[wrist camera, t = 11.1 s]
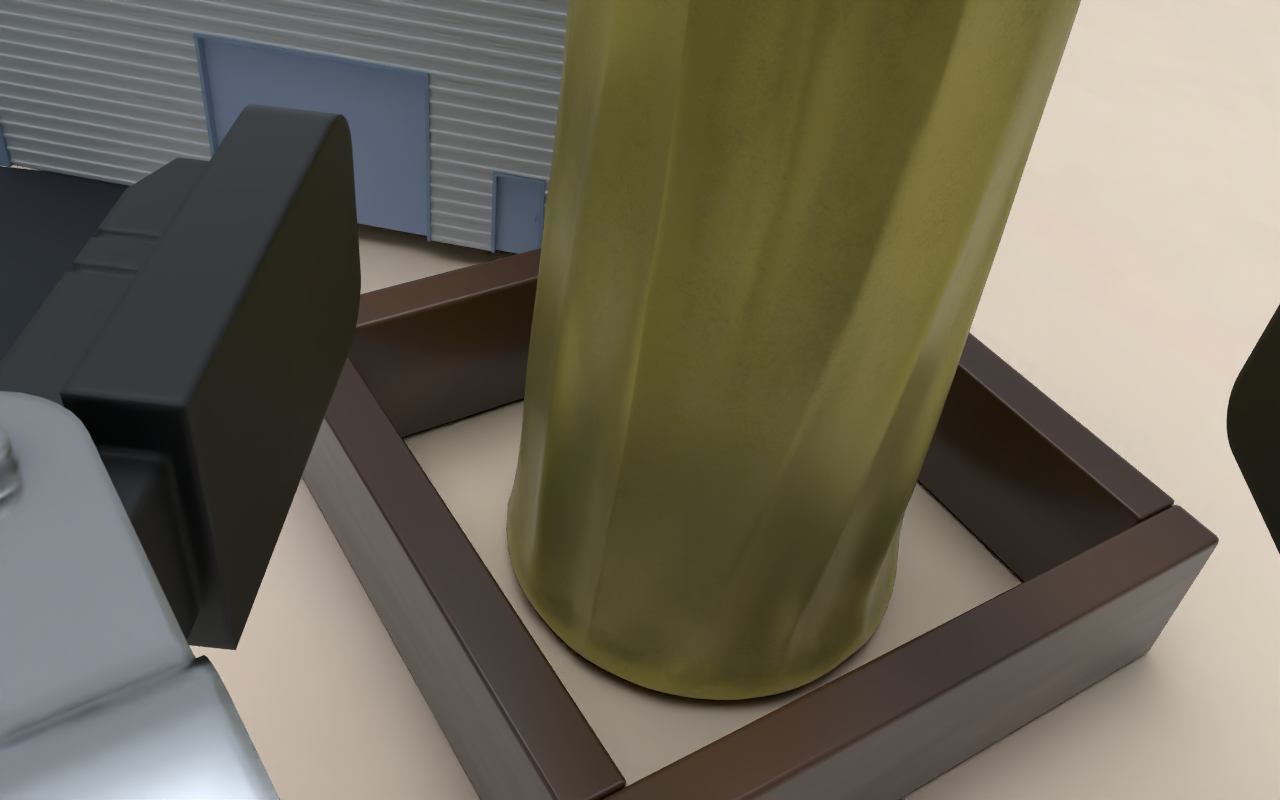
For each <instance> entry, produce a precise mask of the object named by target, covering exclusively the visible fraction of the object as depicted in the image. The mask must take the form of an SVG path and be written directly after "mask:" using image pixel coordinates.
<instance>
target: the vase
mask: <svg viewBox="0 0 1280 800" xmlns="http://www.w3.org/2000/svg"><path fill="white" fill-rule="evenodd" d="M1080 2H1081V0H568V8H567V21H566V33H565V45H564V57H563V68H562V78H561V87H560V95H559V104H558V113H557V121H556V130H555V139H554V148H553V156H552V164H551V172H550V179H549V186H548V193H547V201H546V209H545V218H544V229H543V240H542V248H541V256H540V265H539V273H538V281H537V290H536V297H535V305H534V312H533V320H532V328H531V336H530V344H529V353H528V362H527V372H526V383H525V397H524V413H523V424H522V434H521V443H520V451H519V458H518V464H517V470H516V476H515V480H514V485H513V489H512V492H511V496H510V499H509V502H508V513H507V528H506V530H507V539H508V547H509V553H510V557H511V561H512V565H513V569H514V573H515V575H516V577H517V579H518V581H519V583H520V586H521V588H522V590H523V592H524V593H525V595H526V597H527V598H528V599H529V601H530V602H531V604H532V605H533V607H534V608H535V610H536V611H537V612H538V614H539V615H540V616H541V617H542V618H543V619H544V621H545V622H546V623H547V624H548V625H549V626H550V628H551V629H552V630H553V631H554V632H555V633H556V634H557V635H558V636H559V637H560V638H561V639H562V640H563V641H564V642H565V643H566V644H567V645H568V646H569V647H571V648H572V649H573V650H575V651H576V652H577V653H578V654H580V655H581V656H582V657H584V658H585V659H587V660H588V661H590V662H592V663H594V664H595V665H597V666H599V667H600V668H602V669H604V670H606V671H608V672H610V673H612V674H614V675H616V676H618V677H620V678H622V679H625V680H627V681H630V682H632V683H635V684H637V685H640V686H642V687H645V688H649V689H652V690H656V691H659V692H663V693H668V694H673V695H678V696H684V697H690V698H697V699H712V700H742V699H749V698H756V697H762V696H768V695H774V694H779V693H782V692H786V691H789V690H792V689H795V688H798V687H800V686H802V685H805V684H807V683H810V682H812V681H814V680H815V679H817V678H819V677H821V676H822V675H824V674H826V673H828V672H829V671H831V670H832V669H833V668H835V667H836V666H837V665H839V664H840V663H841V662H843V661H844V660H845V659H847V658H848V657H849V656H851V655H852V654H853V653H854V652H856V651H857V650H858V649H859V648H861V647H862V646H863V645H864V644H865V643H866V642H867V641H868V640H869V639H870V638H871V637H872V635H873V634H874V632H875V631H876V629H877V627H878V626H879V624H880V622H881V620H882V618H883V616H884V614H885V611H886V609H887V606H888V603H889V600H890V597H891V594H892V590H893V585H894V580H895V575H896V569H897V557H898V544H899V535H900V529H901V525H902V520H903V516H904V512H905V510H906V507H907V505H908V502H909V500H910V497H911V495H912V493H913V490H914V487H915V484H916V481H917V479H918V476H919V473H920V470H921V468H922V465H923V462H924V460H925V457H926V454H927V451H928V449H929V446H930V443H931V441H932V438H933V435H934V433H935V430H936V427H937V424H938V421H939V419H940V416H941V413H942V410H943V407H944V404H945V401H946V398H947V395H948V393H949V390H950V387H951V384H952V381H953V378H954V375H955V372H956V369H957V367H958V364H959V361H960V358H961V355H962V352H963V349H964V346H965V343H966V340H967V337H968V334H969V331H970V328H971V325H972V322H973V319H974V316H975V313H976V310H977V307H978V304H979V301H980V298H981V295H982V292H983V289H984V286H985V283H986V281H987V278H988V275H989V272H990V269H991V266H992V263H993V260H994V257H995V255H996V252H997V249H998V246H999V243H1000V240H1001V237H1002V234H1003V231H1004V228H1005V225H1006V222H1007V219H1008V216H1009V213H1010V210H1011V207H1012V204H1013V201H1014V198H1015V195H1016V192H1017V189H1018V186H1019V183H1020V180H1021V177H1022V174H1023V170H1024V167H1025V164H1026V161H1027V158H1028V155H1029V152H1030V149H1031V147H1032V144H1033V141H1034V138H1035V135H1036V132H1037V129H1038V126H1039V123H1040V120H1041V117H1042V114H1043V111H1044V108H1045V105H1046V102H1047V99H1048V96H1049V93H1050V90H1051V88H1052V85H1053V82H1054V79H1055V76H1056V73H1057V70H1058V67H1059V64H1060V61H1061V58H1062V55H1063V52H1064V50H1065V47H1066V44H1067V41H1068V38H1069V35H1070V32H1071V29H1072V26H1073V23H1074V20H1075V17H1076V14H1077V11H1078V8H1079V5H1080Z"/></svg>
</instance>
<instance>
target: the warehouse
mask: <svg viewBox="0 0 1280 800" xmlns="http://www.w3.org/2000/svg"><path fill="white" fill-rule="evenodd" d="M567 8H568V0H0V165H1V166H8V167H11V166H12V165H17V166H22V167H28V168H33V169H39V170H44V171H50V172H56V173H61V174H67V175H72V176H78V177H83V178H89V179H94V180H100V181H105V182H111V183H116V184H122V185H128V186H132V185H133V184H135V183H137V182H138V181H140V180H142V179H143V178H145V177H146V176H148V175H150V174H151V173H153V172H155V171H156V170H158V169H160V168H161V167H163V166H165V165H166V164H168V163H169V162H171V161H173V160H174V159H176V158H178V157H179V158H187V159H196V160H204V161H210V159H211V158H212V156H213V155H214V153H215V151H216V150H217V148H218V147H219V145H220V144H221V142H222V141H223V139H224V138H225V136H226V134H227V133H228V131H229V130H230V128H231V127H232V125H233V124H234V122H235V121H236V119H237V118H238V116H239V114H240V113H241V111H242V110H243V109H244V108H245V107H246V106H247V105H249V104H258V105H266V106H275V107H283V108H291V109H300V110H308V111H316V112H325V113H333V114H341V115H343V116H344V117H345V118H346V119H347V122H348V124H349V128H350V133H351V139H352V150H353V165H354V180H355V195H356V211H357V223H359V224H364V225H370V226H375V227H381V228H386V229H392V230H398V231H403V232H409V233H414V234H420V235H425V236H427V241H428V242H431V240H432V241H438V242H443V243H449V244H454V245H460V246H466V247H471V248H477V249H482V250H488V251H491V253H494V252H495V250H501V251H506V252H512V253H517V254H519V253H523V252H527V251H531V250H535V249H538V248H542V240H543V229H544V218H545V209H546V201H547V193H548V186H549V179H550V172H551V164H552V156H553V148H554V139H555V130H556V121H557V113H558V104H559V95H560V87H561V78H562V68H563V57H564V45H565V33H566V21H567Z"/></svg>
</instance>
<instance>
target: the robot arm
mask: <svg viewBox="0 0 1280 800" xmlns="http://www.w3.org/2000/svg"><path fill="white" fill-rule="evenodd" d="M360 290H361V272H360V256H359V241H358V226H357V211H356V195H355V180H354V165H353V150H352V139H351V133H350V128H349V124H348V122H347V119H346V118H345V117H344V116H343V115H341V114H333V113H325V112H316V111H308V110H300V109H291V108H283V107H275V106H266V105H258V104H249V105H247V106H246V107H245V108H244V109H243V110H242V111H241V113H240V114H239V116H238V118H237V119H236V121H235V122H234V124H233V125H232V127H231V128H230V130H229V131H228V133H227V134H226V136H225V138H224V139H223V141H222V142H221V144H220V145H219V147H218V148H217V150H216V151H215V153H214V155H213V156H212V158H211V159H210V161H204V160H196V159H187V158H179V157H178V158H176V159H174V160H173V161H171V162H169V163H168V164H166V165H165V166H163V167H161V168H160V169H158V170H156V171H155V172H153V173H151V174H150V175H148V176H146V177H145V178H143V179H142V180H140V181H138V182H137V183H135V184H133V185H132V186H130V187H128V188H127V189H126V190H125V191H124V193H123V194H122V195H121V197H120V198H119V200H118V201H117V202H116V204H115V205H114V206H113V208H112V209H111V211H110V212H109V213H108V215H107V216H106V217H105V219H104V220H103V222H102V223H101V224H100V226H99V227H98V229H97V238H96V237H91V238H90V240H89V241H88V242H87V244H86V245H85V246H84V248H83V249H82V251H81V252H80V253H79V255H78V256H77V257H76V259H75V260H74V262H73V270H72V272H70V271H66V273H65V274H64V275H63V277H62V278H61V279H60V281H59V282H58V284H57V285H56V286H55V288H54V289H53V290H52V292H51V293H50V295H49V296H48V297H47V299H46V300H45V301H44V303H43V304H42V306H41V307H40V308H39V310H38V311H37V312H36V314H35V315H34V317H33V318H32V319H31V321H30V322H29V323H28V325H27V326H26V328H25V329H24V330H23V332H22V333H21V334H20V336H19V337H18V339H17V340H16V341H15V343H14V344H13V345H12V347H11V348H10V350H9V351H8V352H7V354H6V355H5V357H4V358H3V359H2V361H1V362H0V800H280V799H279V797H278V795H277V793H276V791H275V789H274V787H273V785H272V783H271V781H270V778H269V776H268V774H267V772H266V770H265V768H264V766H263V764H262V762H261V760H260V758H259V756H258V753H257V751H256V749H255V747H254V745H253V743H252V741H251V739H250V737H249V735H248V733H247V731H246V729H245V726H244V724H243V722H242V720H241V718H240V716H239V714H238V712H237V710H236V708H235V706H234V704H233V701H232V699H231V697H230V695H229V693H228V691H227V689H226V687H225V685H224V683H223V682H222V680H221V678H220V676H219V674H218V672H217V671H216V669H215V668H214V666H213V664H212V663H211V662H210V660H209V659H208V658H207V657H206V656H205V655H203V656H201V657H198V658H195V656H194V654H193V653H192V651H191V649H190V647H189V645H193V646H203V647H212V648H221V649H231V650H236V648H237V645H238V642H239V640H240V637H241V635H242V632H243V629H244V627H245V624H246V621H247V619H248V616H249V614H250V611H251V608H252V606H253V603H254V600H255V598H256V595H257V593H258V590H259V587H260V585H261V582H262V579H263V577H264V574H265V572H266V569H267V566H268V564H269V561H270V558H271V556H272V553H273V551H274V548H275V545H276V543H277V540H278V537H279V535H280V532H281V529H282V527H283V524H284V522H285V519H286V516H287V514H288V511H289V508H290V506H291V503H292V501H293V498H294V495H295V493H296V490H297V487H298V485H299V482H300V480H301V477H302V474H303V472H304V469H305V466H306V464H307V461H308V459H309V456H310V453H311V451H312V448H313V445H314V443H315V440H316V438H317V435H318V432H319V430H320V427H321V424H322V422H323V419H324V417H325V414H326V411H327V409H328V406H329V403H330V401H331V398H332V396H333V393H334V390H335V388H336V385H337V382H338V380H339V377H340V375H341V372H342V369H343V367H344V364H345V361H346V359H347V356H348V354H349V351H350V348H351V345H352V342H353V338H354V335H355V330H356V325H357V319H358V313H359V304H360ZM1227 434H1228V440H1229V444H1230V448H1231V450H1232V453H1233V455H1234V457H1235V459H1236V461H1237V464H1238V466H1239V468H1240V470H1241V472H1242V474H1243V476H1244V479H1245V481H1246V483H1247V485H1248V487H1249V489H1250V491H1251V494H1252V496H1253V498H1254V500H1255V502H1256V504H1257V506H1258V509H1259V511H1260V513H1261V515H1262V517H1263V519H1264V521H1265V524H1266V526H1267V528H1268V530H1269V532H1270V534H1271V536H1272V539H1273V541H1274V543H1275V545H1276V547H1277V549H1278V551H1279V554H1280V305H1279V306H1278V308H1277V310H1276V312H1275V313H1274V315H1273V317H1272V318H1271V320H1270V322H1269V324H1268V325H1267V327H1266V329H1265V330H1264V332H1263V334H1262V336H1261V337H1260V339H1259V341H1258V342H1257V344H1256V346H1255V348H1254V349H1253V351H1252V353H1251V354H1250V356H1249V358H1248V360H1247V361H1246V363H1245V365H1244V366H1243V368H1242V370H1241V372H1240V373H1239V375H1238V377H1237V379H1236V381H1235V383H1234V386H1233V389H1232V391H1231V395H1230V399H1229V404H1228V410H1227Z"/></svg>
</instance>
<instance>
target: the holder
mask: <svg viewBox="0 0 1280 800" xmlns="http://www.w3.org/2000/svg"><path fill="white" fill-rule="evenodd" d="M540 256H541V248H538V249H535V250H531V251H527V252H523V253H519V254H515V255H511V256H508V257H504V258H500V259H496V260H492V261H488V262H484V263H481V264H477V265H473V266H469V267H465V268H461V269H457V270H453V271H450V272H446V273H442V274H438V275H434V276H430V277H426V278H423V279H419V280H415V281H411V282H407V283H403V284H399V285H396V286H392V287H388V288H384V289H380V290H376V291H372V292H369V293H365V294H361V295H360V304H359V313H358V319H357V325H356V330H355V335H354V338H353V342H352V345H351V348H350V351H349V354H348V356H347V359H346V361H345V364H344V367H343V369H342V372H341V375H340V377H339V380H338V382H337V385H336V388H335V390H334V393H333V396H332V398H331V401H330V403H329V406H328V409H327V411H326V414H325V417H324V419H323V422H322V424H321V427H320V430H319V432H318V435H317V438H316V440H315V443H314V445H313V448H312V451H311V453H310V456H309V459H308V461H307V464H306V466H305V469H304V472H303V474H302V477H303V479H304V480H305V482H306V484H307V486H308V488H309V489H310V491H311V493H312V495H313V497H314V498H315V500H316V502H317V504H318V506H319V507H320V509H321V511H322V513H323V515H324V517H325V518H326V520H327V522H328V524H329V526H330V527H331V529H332V531H333V533H334V535H335V536H336V538H337V540H338V542H339V544H340V545H341V547H342V549H343V551H344V553H345V554H346V556H347V558H348V560H349V562H350V564H351V565H352V567H353V569H354V571H355V573H356V574H357V576H358V578H359V580H360V582H361V583H362V585H363V587H364V589H365V591H366V592H367V594H368V596H369V598H370V600H371V601H372V603H373V605H374V607H375V609H376V611H377V612H378V614H379V616H380V618H381V620H382V621H383V623H384V625H385V627H386V629H387V630H388V632H389V634H390V636H391V638H392V639H393V641H394V643H395V645H396V647H397V648H398V650H399V652H400V654H401V656H402V657H403V659H404V661H405V663H406V665H407V667H408V668H409V670H410V672H411V674H412V676H413V677H414V679H415V681H416V683H417V685H418V686H419V688H420V690H421V692H422V694H423V695H424V697H425V699H426V701H427V703H428V704H429V706H430V708H431V710H432V712H433V714H434V715H435V717H436V719H437V721H438V723H439V724H440V726H441V728H442V730H443V732H444V733H445V735H446V737H447V739H448V741H449V742H450V744H451V746H452V748H453V750H454V751H455V753H456V755H457V757H458V759H459V761H460V762H461V764H462V766H463V768H464V770H465V771H466V773H467V775H468V777H469V779H470V780H471V782H472V784H473V786H474V788H475V789H476V791H477V793H478V795H479V797H480V798H481V800H898V799H900V798H902V797H904V796H905V795H907V794H909V793H910V792H912V791H914V790H915V789H917V788H919V787H920V786H922V785H924V784H925V783H927V782H929V781H930V780H932V779H934V778H936V777H937V776H939V775H941V774H942V773H944V772H946V771H947V770H949V769H951V768H952V767H954V766H956V765H957V764H959V763H961V762H962V761H964V760H966V759H967V758H969V757H971V756H973V755H974V754H976V753H978V752H979V751H981V750H983V749H984V748H986V747H988V746H989V745H991V744H993V743H994V742H996V741H998V740H999V739H1001V738H1003V737H1005V736H1006V735H1008V734H1010V733H1011V732H1013V731H1015V730H1016V729H1018V728H1020V727H1021V726H1023V725H1025V724H1026V723H1028V722H1030V721H1031V720H1033V719H1035V718H1037V717H1038V716H1040V715H1042V714H1043V713H1045V712H1047V711H1048V710H1050V709H1052V708H1053V707H1055V706H1057V705H1058V704H1060V703H1062V702H1063V701H1065V700H1067V699H1069V698H1070V697H1072V696H1074V695H1075V694H1077V693H1079V692H1080V691H1082V690H1084V689H1085V688H1087V687H1089V686H1090V685H1092V684H1094V683H1095V682H1097V681H1099V680H1101V679H1102V678H1104V677H1106V676H1107V675H1109V674H1111V673H1112V672H1114V671H1116V670H1117V669H1119V668H1121V667H1122V666H1124V665H1126V664H1127V663H1129V662H1131V661H1133V660H1134V659H1136V658H1138V657H1139V656H1141V655H1143V654H1144V653H1146V652H1148V651H1149V650H1150V649H1151V647H1152V645H1153V644H1154V642H1155V641H1156V639H1157V638H1158V636H1159V635H1160V633H1161V631H1162V630H1163V628H1164V627H1165V625H1166V624H1167V622H1168V621H1169V619H1170V618H1171V616H1172V614H1173V613H1174V611H1175V610H1176V608H1177V607H1178V605H1179V604H1180V602H1181V600H1182V599H1183V597H1184V596H1185V594H1186V593H1187V591H1188V590H1189V588H1190V586H1191V585H1192V583H1193V582H1194V580H1195V579H1196V577H1197V576H1198V574H1199V572H1200V571H1201V569H1202V568H1203V566H1204V565H1205V563H1206V562H1207V560H1208V558H1209V557H1210V555H1211V554H1212V552H1213V551H1214V549H1215V548H1216V546H1217V544H1218V542H1219V539H1218V537H1217V536H1216V535H1215V534H1214V533H1212V532H1211V531H1210V530H1209V529H1208V528H1206V527H1205V526H1204V525H1203V524H1201V523H1200V522H1199V521H1198V520H1197V519H1195V518H1194V517H1193V516H1192V515H1190V514H1189V513H1188V512H1187V511H1186V510H1184V509H1183V508H1182V507H1181V506H1178V505H1173V504H1174V500H1173V499H1172V498H1171V497H1170V496H1169V495H1167V494H1166V493H1165V492H1164V491H1162V490H1161V489H1160V488H1159V487H1158V486H1156V485H1155V484H1154V483H1153V482H1151V481H1150V480H1149V479H1148V478H1147V477H1145V476H1144V475H1143V474H1142V473H1141V472H1139V471H1138V470H1137V469H1136V468H1134V467H1133V466H1132V465H1131V464H1130V463H1128V462H1127V461H1126V460H1125V459H1123V458H1122V457H1121V456H1120V455H1119V454H1117V453H1116V452H1115V451H1114V450H1112V449H1111V448H1110V447H1109V446H1108V445H1106V444H1105V443H1104V442H1103V441H1101V440H1100V439H1099V438H1098V437H1097V436H1095V435H1094V434H1093V433H1092V432H1090V431H1089V430H1088V429H1087V428H1086V427H1084V426H1083V425H1082V424H1081V423H1079V422H1078V421H1077V420H1076V419H1075V418H1073V417H1072V416H1071V415H1070V414H1068V413H1067V412H1066V411H1065V410H1064V409H1062V408H1061V407H1060V406H1059V405H1057V404H1056V403H1055V402H1054V401H1053V400H1051V399H1050V398H1049V397H1048V396H1046V395H1045V394H1044V393H1043V392H1042V391H1040V390H1039V389H1038V388H1037V387H1035V386H1034V385H1033V384H1032V383H1031V382H1029V381H1028V380H1027V379H1026V378H1024V377H1023V376H1022V375H1021V374H1020V373H1018V372H1017V371H1016V370H1015V369H1013V368H1012V367H1011V366H1010V365H1009V364H1007V363H1006V362H1005V361H1004V360H1002V359H1001V358H1000V357H999V356H998V355H996V354H995V353H994V352H993V351H991V350H990V349H989V348H988V347H987V346H985V345H984V344H983V343H982V342H980V341H979V340H978V339H977V338H976V337H974V336H973V335H972V334H971V333H969V334H968V337H967V340H966V343H965V346H964V349H963V352H962V355H961V358H960V361H959V364H958V367H957V369H956V372H955V375H954V378H953V381H952V384H951V387H950V390H949V393H948V395H947V398H946V401H945V404H944V407H943V410H942V413H941V416H940V419H939V421H938V424H937V427H936V430H935V433H934V435H933V438H932V441H931V443H930V446H929V449H928V451H927V454H926V457H925V460H924V462H923V465H922V468H921V470H920V473H919V476H918V480H919V481H920V482H921V483H922V484H923V485H924V486H925V487H926V488H927V489H928V490H929V491H931V492H932V493H933V494H934V495H935V496H936V497H937V498H938V499H939V500H940V501H941V502H942V503H943V504H944V505H945V506H946V507H947V508H948V509H949V510H950V511H951V512H952V513H953V514H954V515H955V516H956V517H958V518H959V519H960V520H961V521H962V522H963V523H964V524H965V525H966V526H967V527H968V528H969V529H970V530H971V531H972V532H973V533H974V534H975V535H976V536H977V537H978V538H979V539H980V540H981V541H982V542H984V543H985V544H986V545H987V546H988V547H989V548H990V549H991V550H992V551H993V552H994V553H995V554H996V555H997V556H998V557H999V558H1000V559H1001V560H1002V561H1003V562H1004V563H1005V564H1006V565H1007V566H1008V567H1009V568H1011V569H1012V570H1013V571H1014V572H1015V573H1016V574H1017V575H1018V576H1019V577H1020V578H1021V579H1022V580H1023V581H1024V583H1022V584H1020V585H1018V586H1016V587H1014V588H1012V589H1010V590H1008V591H1006V592H1004V593H1002V594H1000V595H998V596H997V597H995V598H993V599H991V600H989V601H987V602H985V603H983V604H981V605H979V606H977V607H975V608H973V609H971V610H969V611H967V612H965V613H963V614H962V615H960V616H958V617H956V618H954V619H952V620H950V621H948V622H946V623H944V624H942V625H940V626H938V627H936V628H934V629H932V630H930V631H928V632H927V633H925V634H923V635H921V636H919V637H917V638H915V639H913V640H911V641H909V642H907V643H905V644H903V645H901V646H899V647H897V648H895V649H894V650H892V651H890V652H888V653H886V654H884V655H882V656H880V657H878V658H876V659H874V660H872V661H870V662H868V663H866V664H864V665H862V666H860V667H859V668H857V669H855V670H853V671H851V672H849V673H847V674H845V675H843V676H841V677H839V678H837V679H835V680H833V681H831V682H829V683H827V684H825V685H824V686H822V687H820V688H818V689H816V690H814V691H812V692H810V693H808V694H806V695H804V696H802V697H800V698H798V699H796V700H794V701H792V702H791V703H789V704H787V705H785V706H783V707H781V708H779V709H777V710H775V711H773V712H771V713H769V714H767V715H765V716H763V717H761V718H759V719H757V720H756V721H754V722H752V723H750V724H748V725H746V726H744V727H742V728H740V729H738V730H736V731H734V732H732V733H730V734H728V735H726V736H724V737H723V738H721V739H719V740H717V741H715V742H713V743H711V744H709V745H707V746H705V747H703V748H701V749H699V750H697V751H695V752H693V753H691V754H689V755H688V756H686V757H684V758H682V759H680V760H678V761H676V762H674V763H672V764H670V765H668V766H666V767H664V768H662V769H660V770H658V771H656V772H654V773H653V774H651V775H649V776H647V777H645V778H643V779H641V780H639V781H637V782H635V783H633V784H631V785H629V786H627V787H626V780H625V779H624V777H623V776H622V774H621V773H620V771H619V769H618V768H617V766H616V765H615V763H614V762H613V760H612V759H611V757H610V756H609V754H608V753H607V751H606V750H605V748H604V746H603V745H602V743H601V742H600V740H599V739H598V737H597V736H596V734H595V733H594V731H593V730H592V728H591V727H590V725H589V723H588V722H587V720H586V719H585V717H584V716H583V714H582V713H581V711H580V710H579V708H578V707H577V705H576V704H575V702H574V700H573V699H572V697H571V696H570V694H569V693H568V691H567V690H566V688H565V687H564V685H563V684H562V682H561V681H560V679H559V677H558V676H557V674H556V673H555V671H554V670H553V668H552V667H551V665H550V664H549V662H548V661H547V659H546V658H545V656H544V654H543V653H542V651H541V650H540V648H539V647H538V645H537V644H536V642H535V641H534V639H533V638H532V636H531V635H530V633H529V632H528V630H527V628H526V627H525V625H524V624H523V622H522V621H521V619H520V618H519V616H518V615H517V613H516V612H515V610H514V609H513V607H512V605H511V604H510V602H509V601H508V599H507V598H506V596H505V595H504V593H503V592H502V590H501V589H500V587H499V586H498V584H497V582H496V581H495V579H494V578H493V576H492V575H491V573H490V572H489V570H488V569H487V567H486V566H485V564H484V563H483V561H482V559H481V558H480V556H479V555H478V553H477V552H476V550H475V549H474V547H473V546H472V544H471V543H470V541H469V540H468V538H467V536H466V535H465V533H464V532H463V530H462V529H461V527H460V526H459V524H458V523H457V521H456V520H455V518H454V517H453V515H452V513H451V512H450V510H449V509H448V507H447V506H446V504H445V503H444V501H443V500H442V498H441V497H440V495H439V494H438V492H437V490H436V489H435V487H434V486H433V484H432V483H431V481H430V480H429V478H428V477H427V475H426V474H425V472H424V471H423V469H422V468H421V466H420V464H419V463H418V461H417V460H416V458H415V457H414V455H413V454H412V452H411V451H410V449H409V448H408V446H407V445H406V443H405V441H404V440H403V438H402V437H404V436H407V435H411V434H414V433H417V432H420V431H423V430H426V429H429V428H432V427H435V426H438V425H442V424H445V423H448V422H451V421H454V420H457V419H460V418H463V417H466V416H469V415H473V414H476V413H479V412H482V411H485V410H488V409H491V408H494V407H497V406H500V405H504V404H507V403H510V402H513V401H516V400H519V399H522V398H524V397H525V383H526V372H527V362H528V353H529V344H530V336H531V328H532V320H533V312H534V305H535V297H536V290H537V281H538V273H539V265H540Z"/></svg>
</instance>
